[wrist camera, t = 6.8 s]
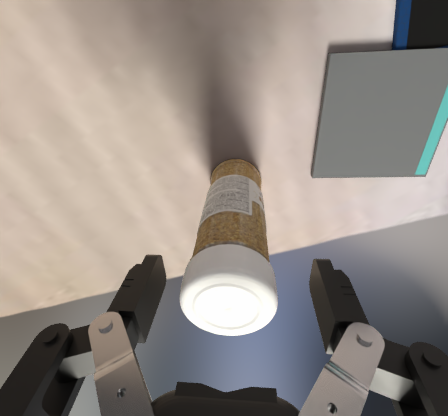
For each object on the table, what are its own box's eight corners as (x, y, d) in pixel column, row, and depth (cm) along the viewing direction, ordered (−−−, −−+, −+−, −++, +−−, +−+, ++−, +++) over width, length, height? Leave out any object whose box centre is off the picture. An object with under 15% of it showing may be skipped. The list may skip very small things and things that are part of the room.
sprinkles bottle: (259, 203, 24) (274, 342, 13) (210, 202, 24) (181, 337, 13) (263, 156, 22) (285, 275, 10) (209, 155, 22) (171, 270, 11)
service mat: (310, 175, 22) (312, 178, 22) (328, 53, 18) (330, 53, 17) (421, 173, 22) (425, 176, 21) (469, 46, 17) (476, 46, 16)
